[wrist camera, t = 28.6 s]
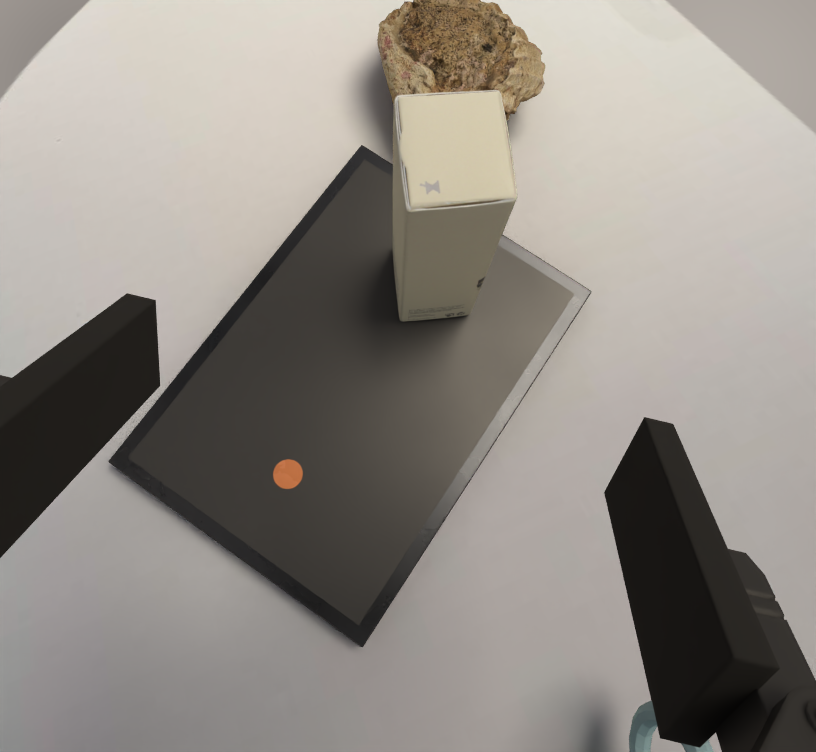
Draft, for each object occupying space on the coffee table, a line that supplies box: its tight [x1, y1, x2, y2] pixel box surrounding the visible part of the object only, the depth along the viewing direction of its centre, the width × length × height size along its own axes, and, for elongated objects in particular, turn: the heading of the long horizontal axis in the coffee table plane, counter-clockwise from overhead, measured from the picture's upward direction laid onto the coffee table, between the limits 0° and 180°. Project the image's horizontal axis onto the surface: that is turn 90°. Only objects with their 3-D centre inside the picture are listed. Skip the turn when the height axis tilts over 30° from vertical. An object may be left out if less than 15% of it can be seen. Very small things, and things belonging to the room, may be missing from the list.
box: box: [393, 90, 517, 322], centre depth 28 cm, size 5×4×13 cm
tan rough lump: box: [377, 0, 545, 121], centre depth 35 cm, size 11×7×10 cm
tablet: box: [109, 145, 591, 647], centre depth 33 cm, size 17×24×1 cm
